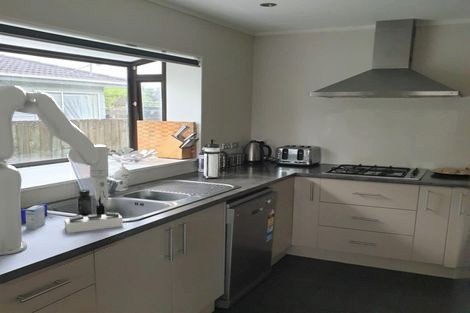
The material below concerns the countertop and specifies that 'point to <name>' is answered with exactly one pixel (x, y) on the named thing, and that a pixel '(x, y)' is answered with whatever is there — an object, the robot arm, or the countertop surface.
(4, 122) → the robot arm
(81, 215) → the rocker inner
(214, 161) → the coffee press
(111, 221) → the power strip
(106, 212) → the rocker outer
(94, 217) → the rocker middle
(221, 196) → the countertop surface
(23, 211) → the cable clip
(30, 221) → the medicine box
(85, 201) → the supplement bottle
